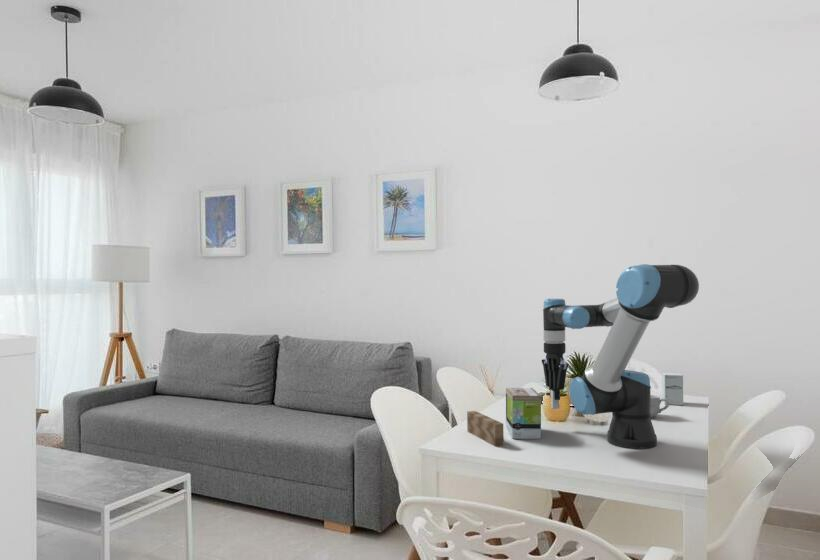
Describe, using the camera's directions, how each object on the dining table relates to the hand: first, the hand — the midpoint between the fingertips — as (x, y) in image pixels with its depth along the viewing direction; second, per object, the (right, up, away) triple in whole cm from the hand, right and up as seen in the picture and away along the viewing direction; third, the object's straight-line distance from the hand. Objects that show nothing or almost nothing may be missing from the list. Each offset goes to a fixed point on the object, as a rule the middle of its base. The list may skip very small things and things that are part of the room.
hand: (555, 408), depth 202 cm
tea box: (-12, -8, -5) cm, 16 cm away
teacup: (+40, -7, +15) cm, 43 cm away
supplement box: (+59, -7, +37) cm, 70 cm away
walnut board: (-26, -8, -10) cm, 29 cm away
